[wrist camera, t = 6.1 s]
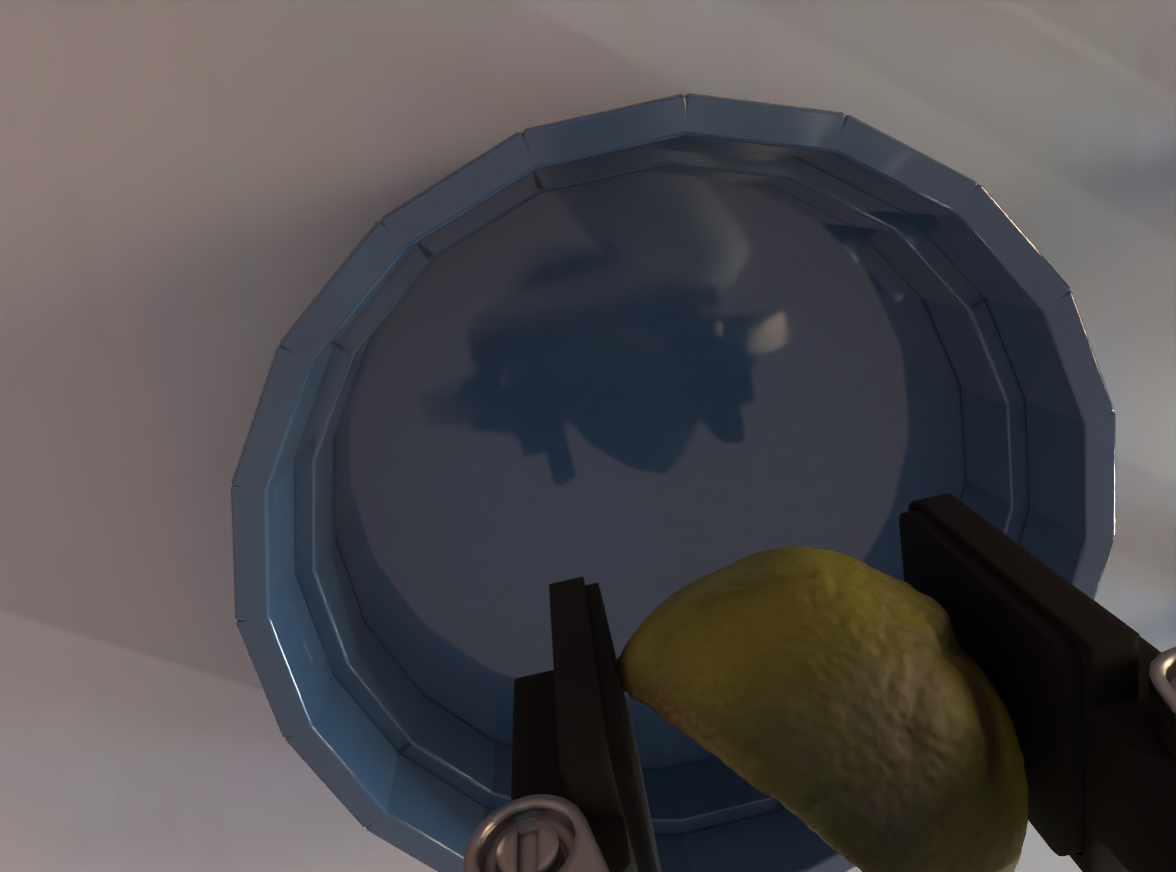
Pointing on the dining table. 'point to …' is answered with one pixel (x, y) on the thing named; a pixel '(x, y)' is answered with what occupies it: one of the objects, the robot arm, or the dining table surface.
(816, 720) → the lime
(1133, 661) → the robot arm
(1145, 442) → the dining table surface
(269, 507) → the bowl
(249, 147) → the dining table surface
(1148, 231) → the dining table surface
